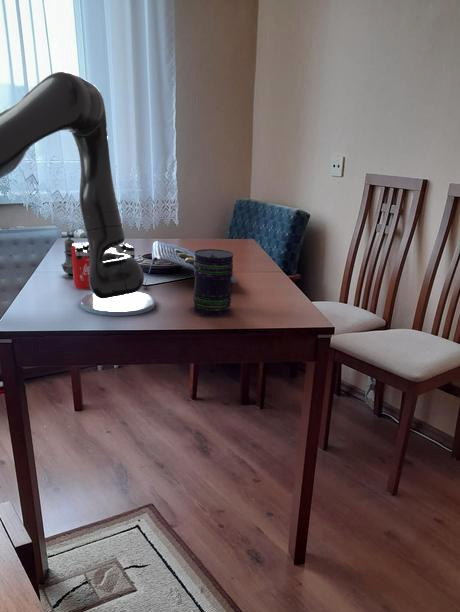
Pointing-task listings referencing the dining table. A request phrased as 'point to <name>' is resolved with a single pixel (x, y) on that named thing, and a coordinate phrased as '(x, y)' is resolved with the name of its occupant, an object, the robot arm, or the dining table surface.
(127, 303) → the plate
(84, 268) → the beverage can
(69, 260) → the pepper grinder
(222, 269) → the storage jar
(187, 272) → the dining table surface
